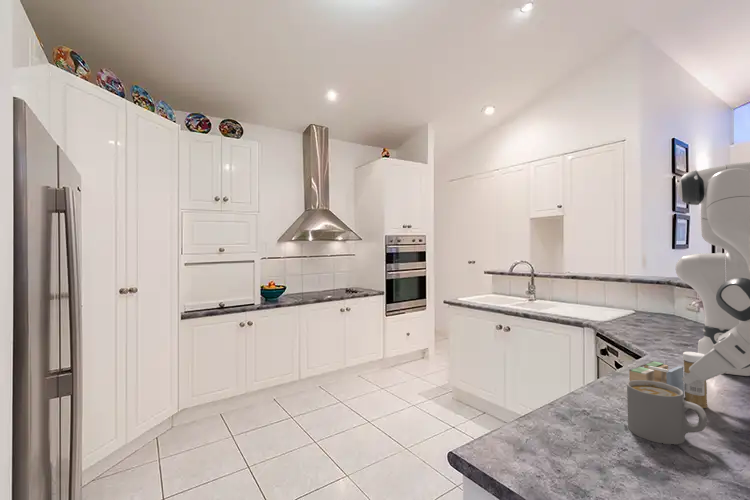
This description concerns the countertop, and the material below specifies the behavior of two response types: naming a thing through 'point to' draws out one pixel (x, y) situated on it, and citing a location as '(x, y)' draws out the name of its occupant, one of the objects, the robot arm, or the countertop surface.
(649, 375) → the tan and green block
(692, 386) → the sprinkles bottle
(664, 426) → the coffee mug
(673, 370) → the gauge plunger
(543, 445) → the countertop surface
